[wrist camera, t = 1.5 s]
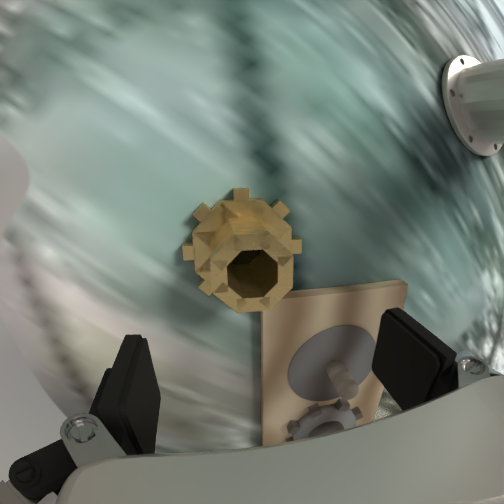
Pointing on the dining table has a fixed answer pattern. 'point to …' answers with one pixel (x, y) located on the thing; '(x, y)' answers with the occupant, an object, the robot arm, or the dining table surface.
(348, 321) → the gear board
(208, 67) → the dining table surface
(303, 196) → the dining table surface
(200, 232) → the brass gear
